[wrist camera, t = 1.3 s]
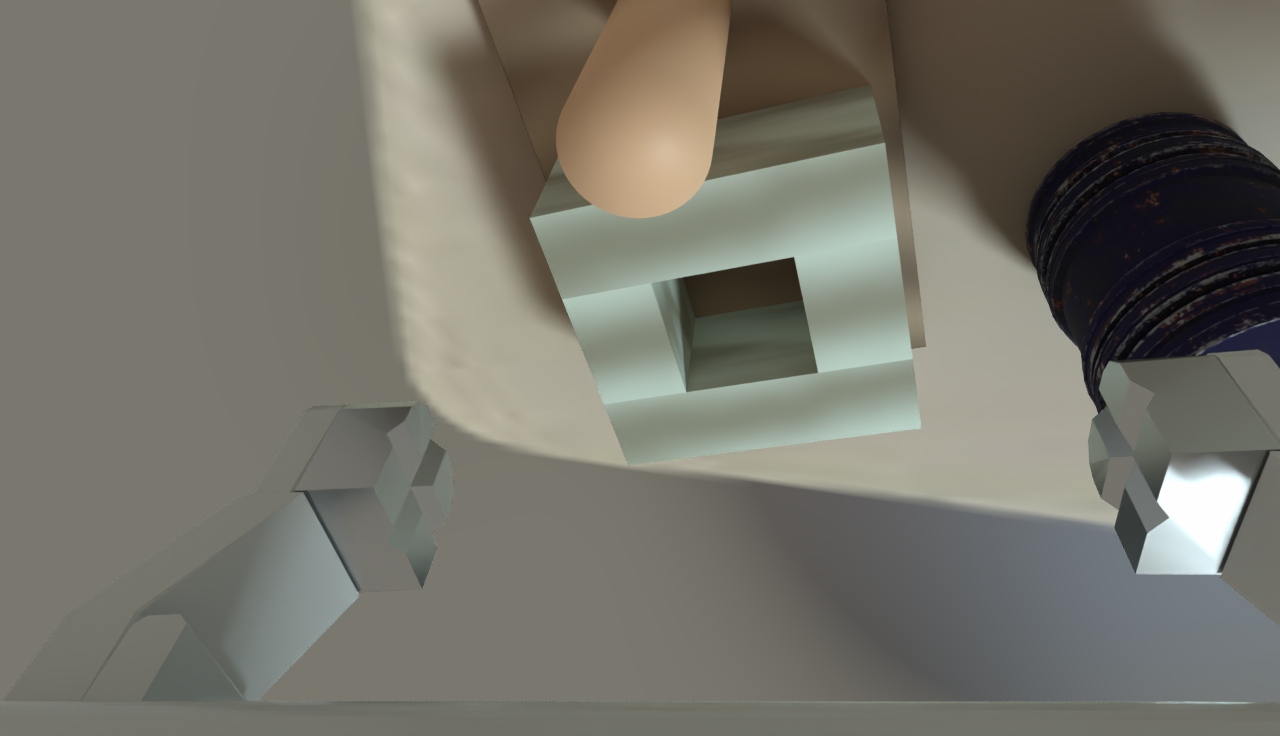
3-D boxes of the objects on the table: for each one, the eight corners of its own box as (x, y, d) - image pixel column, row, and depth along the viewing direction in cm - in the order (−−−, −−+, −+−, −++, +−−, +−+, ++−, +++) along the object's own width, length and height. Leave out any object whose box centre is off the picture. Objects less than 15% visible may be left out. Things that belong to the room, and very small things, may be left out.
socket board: (921, 329, 45) (944, 425, 39) (628, 375, 49) (609, 467, 43) (859, -204, 31) (879, -180, 25) (462, -77, 35) (400, -32, 30)
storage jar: (1204, 60, 35) (1419, 242, 24) (1298, 226, 39) (1523, 453, 27) (981, 202, 40) (1067, 410, 28) (1083, 337, 44) (1196, 570, 32)
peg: (754, 2, 35) (746, 145, 24) (680, 82, 37) (641, 245, 26) (673, -80, 33) (624, 32, 22) (601, 9, 35) (525, 149, 24)
